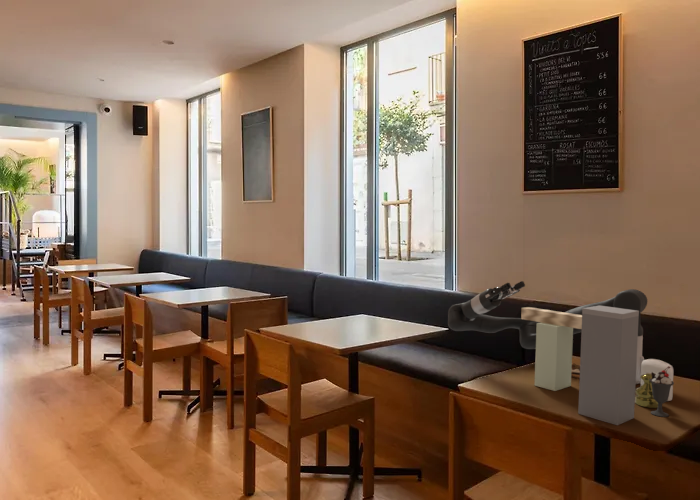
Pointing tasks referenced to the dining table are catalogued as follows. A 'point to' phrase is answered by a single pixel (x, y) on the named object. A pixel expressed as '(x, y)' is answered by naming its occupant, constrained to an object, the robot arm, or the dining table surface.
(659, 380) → the sundae
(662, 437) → the dining table surface
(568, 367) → the sage green pillar
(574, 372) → the sushi roll
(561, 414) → the dining table surface
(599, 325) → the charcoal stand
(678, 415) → the dining table surface
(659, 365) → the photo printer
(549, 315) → the ash bar
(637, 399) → the gold buddha statue
